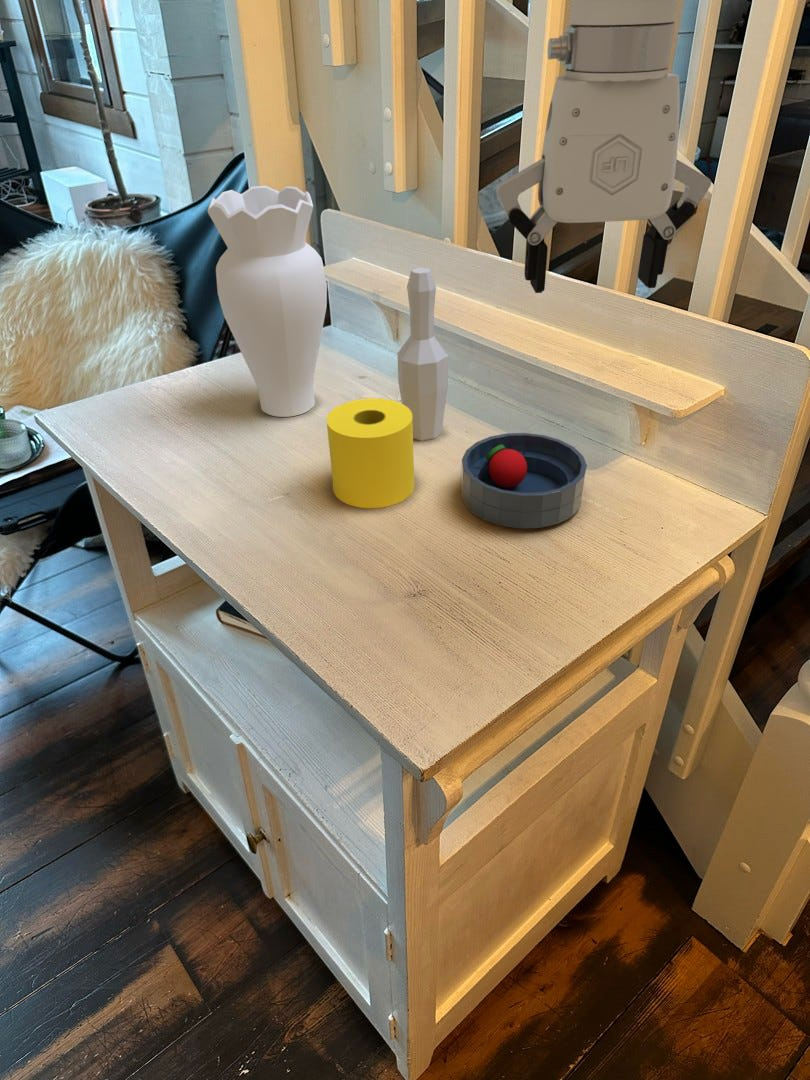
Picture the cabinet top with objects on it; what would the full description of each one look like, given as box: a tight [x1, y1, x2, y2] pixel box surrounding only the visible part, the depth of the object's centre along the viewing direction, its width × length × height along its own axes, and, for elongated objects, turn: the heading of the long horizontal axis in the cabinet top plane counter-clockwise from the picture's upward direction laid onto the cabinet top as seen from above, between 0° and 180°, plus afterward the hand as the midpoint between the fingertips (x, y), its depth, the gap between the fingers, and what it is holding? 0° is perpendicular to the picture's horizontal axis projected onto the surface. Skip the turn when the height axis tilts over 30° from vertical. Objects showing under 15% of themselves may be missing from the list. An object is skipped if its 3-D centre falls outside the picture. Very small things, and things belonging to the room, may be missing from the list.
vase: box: [206, 185, 328, 418], centre depth 104 cm, size 15×15×29 cm
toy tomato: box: [486, 445, 527, 488], centre depth 91 cm, size 5×5×5 cm
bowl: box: [460, 432, 588, 529], centre depth 89 cm, size 14×14×5 cm
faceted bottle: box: [397, 267, 449, 441], centre depth 98 cm, size 6×6×22 cm
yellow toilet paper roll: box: [326, 397, 415, 509], centre depth 91 cm, size 10×10×9 cm
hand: (591, 285), depth 66 cm, fingers open, 9 cm apart
